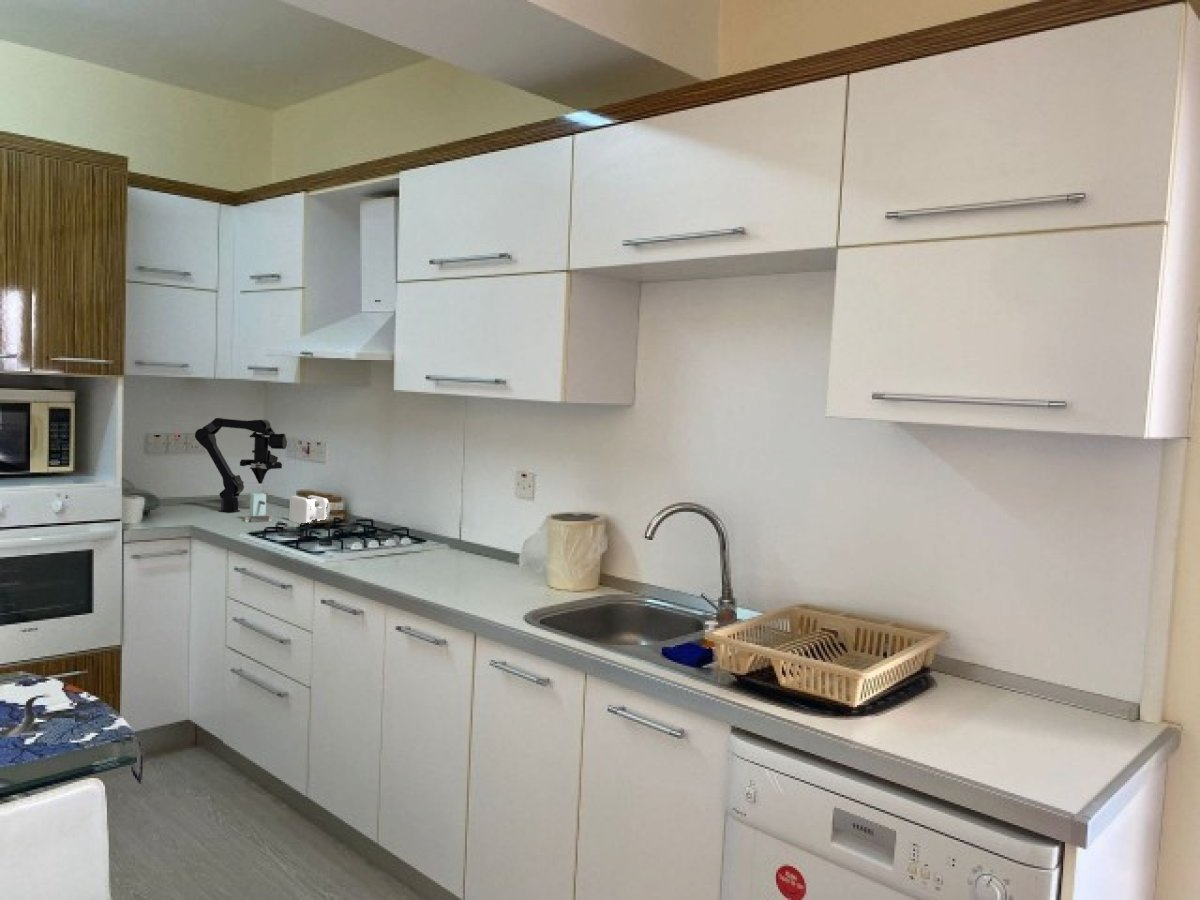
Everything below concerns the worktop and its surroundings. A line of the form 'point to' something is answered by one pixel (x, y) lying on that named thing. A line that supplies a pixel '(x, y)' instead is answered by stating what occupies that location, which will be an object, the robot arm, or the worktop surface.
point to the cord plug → (257, 504)
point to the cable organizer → (307, 509)
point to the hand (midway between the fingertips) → (260, 483)
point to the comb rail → (258, 518)
